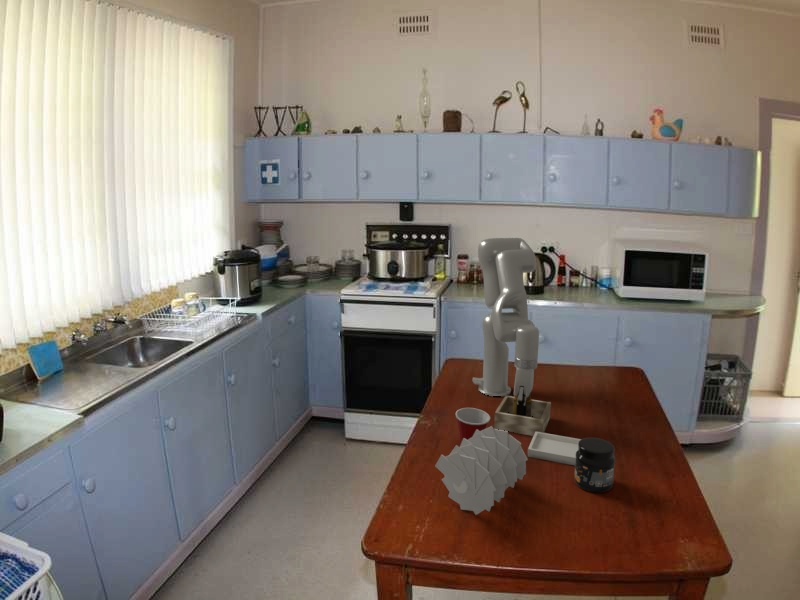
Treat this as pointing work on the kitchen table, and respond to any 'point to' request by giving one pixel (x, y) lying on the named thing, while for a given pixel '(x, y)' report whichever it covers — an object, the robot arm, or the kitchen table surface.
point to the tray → (553, 448)
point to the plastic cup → (471, 421)
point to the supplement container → (594, 465)
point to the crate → (522, 417)
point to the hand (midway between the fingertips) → (523, 411)
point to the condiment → (528, 403)
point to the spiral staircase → (482, 469)
